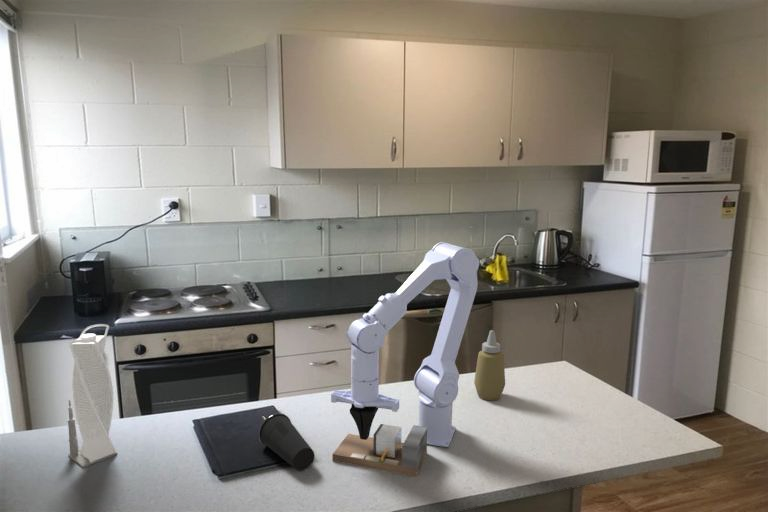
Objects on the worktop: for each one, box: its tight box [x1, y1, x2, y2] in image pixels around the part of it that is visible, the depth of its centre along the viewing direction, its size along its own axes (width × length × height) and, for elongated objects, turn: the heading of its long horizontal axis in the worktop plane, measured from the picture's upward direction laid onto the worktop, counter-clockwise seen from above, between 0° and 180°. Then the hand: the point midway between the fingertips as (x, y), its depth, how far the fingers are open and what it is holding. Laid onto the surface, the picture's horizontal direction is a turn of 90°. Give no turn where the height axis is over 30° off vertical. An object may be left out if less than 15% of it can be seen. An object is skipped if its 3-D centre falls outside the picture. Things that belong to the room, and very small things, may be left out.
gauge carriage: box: [372, 423, 403, 461], centre depth 120 cm, size 7×5×4 cm, turn 163°
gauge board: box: [331, 424, 428, 477], centre depth 121 cm, size 9×18×6 cm, turn 73°
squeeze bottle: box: [473, 329, 506, 401], centre depth 151 cm, size 8×8×18 cm
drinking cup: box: [258, 412, 315, 472], centre depth 123 cm, size 8×8×20 cm
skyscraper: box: [67, 323, 118, 469], centre depth 119 cm, size 8×8×28 cm
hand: (364, 437), depth 122 cm, fingers closed
